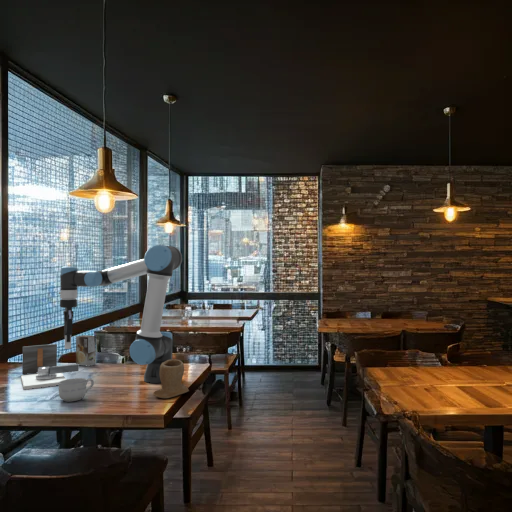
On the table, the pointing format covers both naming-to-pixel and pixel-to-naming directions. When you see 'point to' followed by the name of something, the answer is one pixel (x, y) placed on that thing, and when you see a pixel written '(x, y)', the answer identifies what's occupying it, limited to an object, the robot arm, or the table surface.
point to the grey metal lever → (55, 371)
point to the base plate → (40, 381)
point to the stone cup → (171, 379)
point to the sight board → (38, 357)
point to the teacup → (74, 389)
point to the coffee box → (86, 350)
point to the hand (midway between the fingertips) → (67, 348)
